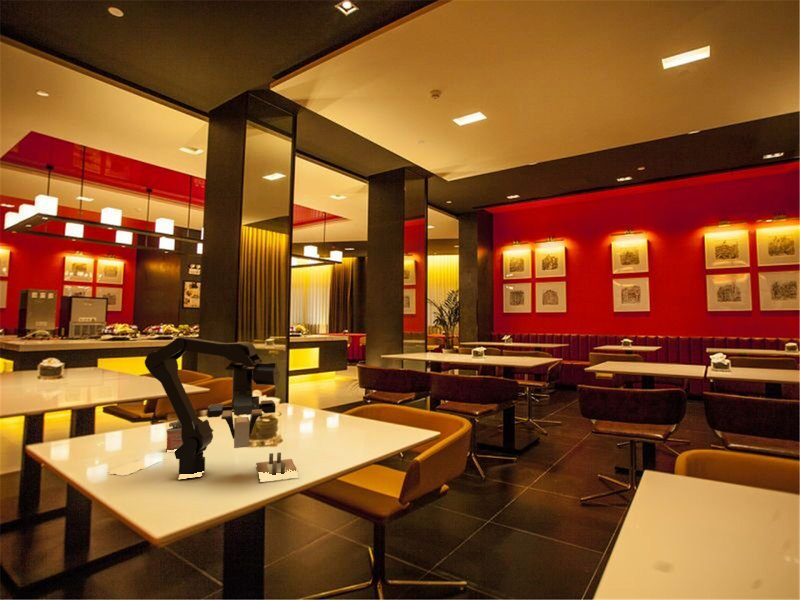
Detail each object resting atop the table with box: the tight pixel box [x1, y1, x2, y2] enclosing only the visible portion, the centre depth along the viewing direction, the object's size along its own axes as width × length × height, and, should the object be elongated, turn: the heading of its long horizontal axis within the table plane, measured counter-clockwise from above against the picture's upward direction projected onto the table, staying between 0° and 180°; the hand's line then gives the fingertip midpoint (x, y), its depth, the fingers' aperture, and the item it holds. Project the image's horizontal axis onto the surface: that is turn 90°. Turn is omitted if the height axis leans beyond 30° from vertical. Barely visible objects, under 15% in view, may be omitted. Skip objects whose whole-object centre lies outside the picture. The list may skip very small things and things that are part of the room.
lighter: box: [165, 419, 183, 451], centre depth 150 cm, size 8×3×10 cm, turn 149°
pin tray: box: [255, 452, 298, 475], centre depth 130 cm, size 11×14×4 cm
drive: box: [233, 416, 250, 449], centre depth 126 cm, size 4×7×7 cm, turn 22°
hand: (241, 437), depth 126 cm, fingers closed on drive, 4 cm apart
